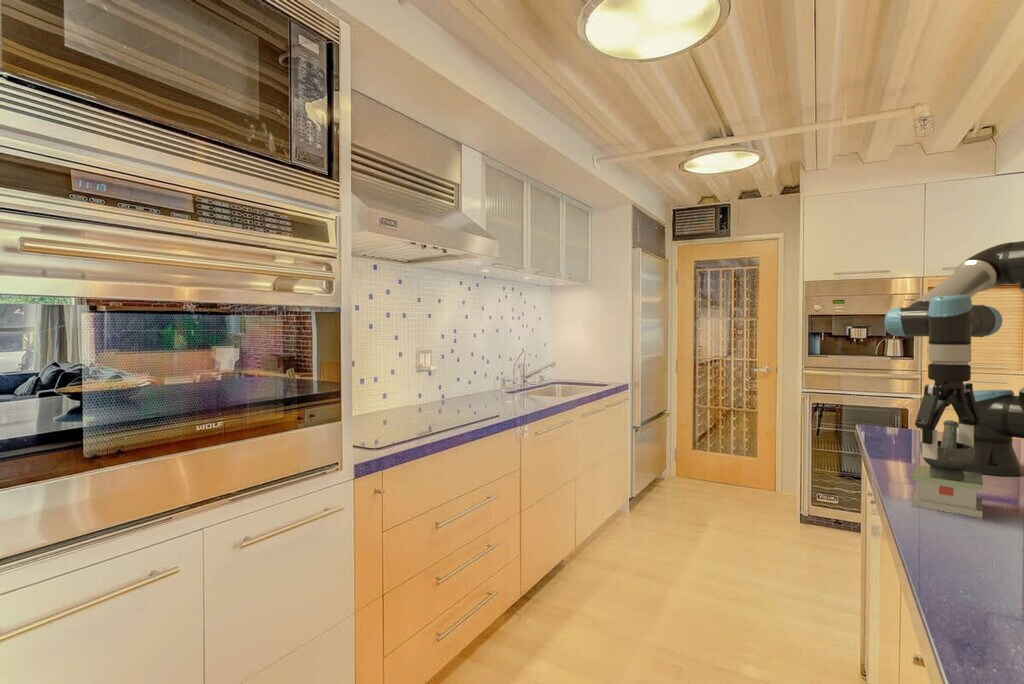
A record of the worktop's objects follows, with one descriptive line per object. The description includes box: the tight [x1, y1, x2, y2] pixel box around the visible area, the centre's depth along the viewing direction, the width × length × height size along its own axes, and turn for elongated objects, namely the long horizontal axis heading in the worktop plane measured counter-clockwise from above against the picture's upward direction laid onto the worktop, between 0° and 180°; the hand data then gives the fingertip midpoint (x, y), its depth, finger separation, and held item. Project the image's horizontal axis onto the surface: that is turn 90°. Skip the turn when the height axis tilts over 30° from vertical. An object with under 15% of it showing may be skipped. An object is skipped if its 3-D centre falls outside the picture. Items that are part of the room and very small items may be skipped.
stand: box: [911, 464, 984, 519], centre depth 120 cm, size 12×12×7 cm
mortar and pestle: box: [919, 419, 975, 478], centre depth 120 cm, size 11×9×12 cm
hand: (948, 455), depth 120 cm, fingers open, 13 cm apart
